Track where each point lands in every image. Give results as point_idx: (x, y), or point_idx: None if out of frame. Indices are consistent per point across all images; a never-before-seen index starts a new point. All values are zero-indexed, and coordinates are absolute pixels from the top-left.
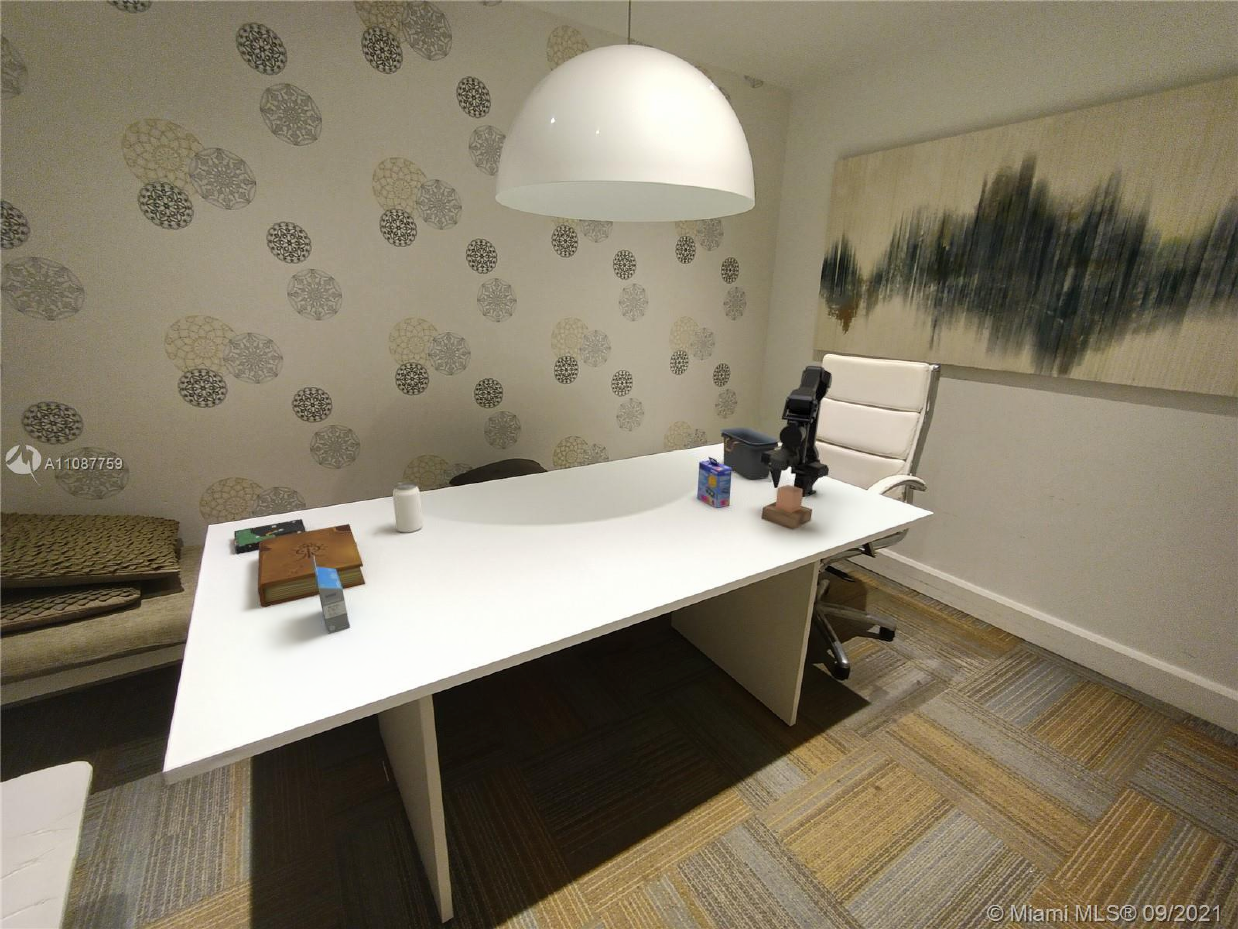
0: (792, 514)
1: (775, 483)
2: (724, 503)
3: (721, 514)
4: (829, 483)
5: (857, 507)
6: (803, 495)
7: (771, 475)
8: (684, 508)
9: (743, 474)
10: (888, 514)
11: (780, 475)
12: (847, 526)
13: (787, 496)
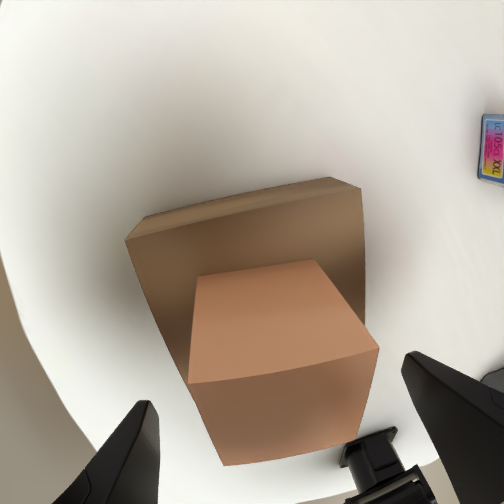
0: (173, 269)
1: (429, 375)
2: (489, 152)
3: (442, 69)
4: (344, 488)
5: (217, 482)
6: (133, 412)
7: (498, 392)
8: (501, 36)
9: (501, 372)
10: (158, 488)
11: (438, 451)
12: (112, 408)
13: (244, 336)
